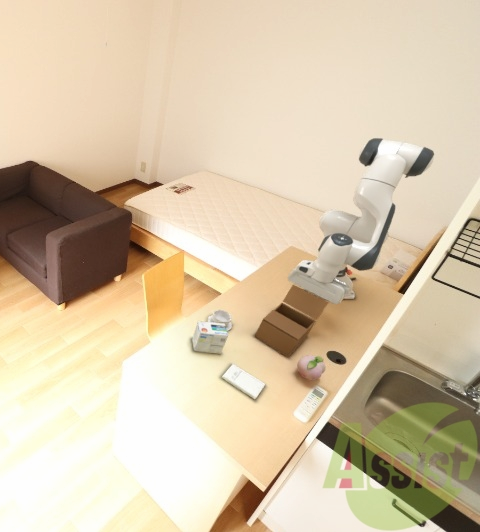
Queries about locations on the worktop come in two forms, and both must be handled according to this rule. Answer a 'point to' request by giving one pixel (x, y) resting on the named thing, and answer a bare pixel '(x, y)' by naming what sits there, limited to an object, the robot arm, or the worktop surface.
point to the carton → (284, 329)
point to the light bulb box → (209, 337)
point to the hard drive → (243, 381)
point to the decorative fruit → (311, 367)
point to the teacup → (221, 318)
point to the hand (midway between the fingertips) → (307, 299)
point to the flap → (305, 302)
